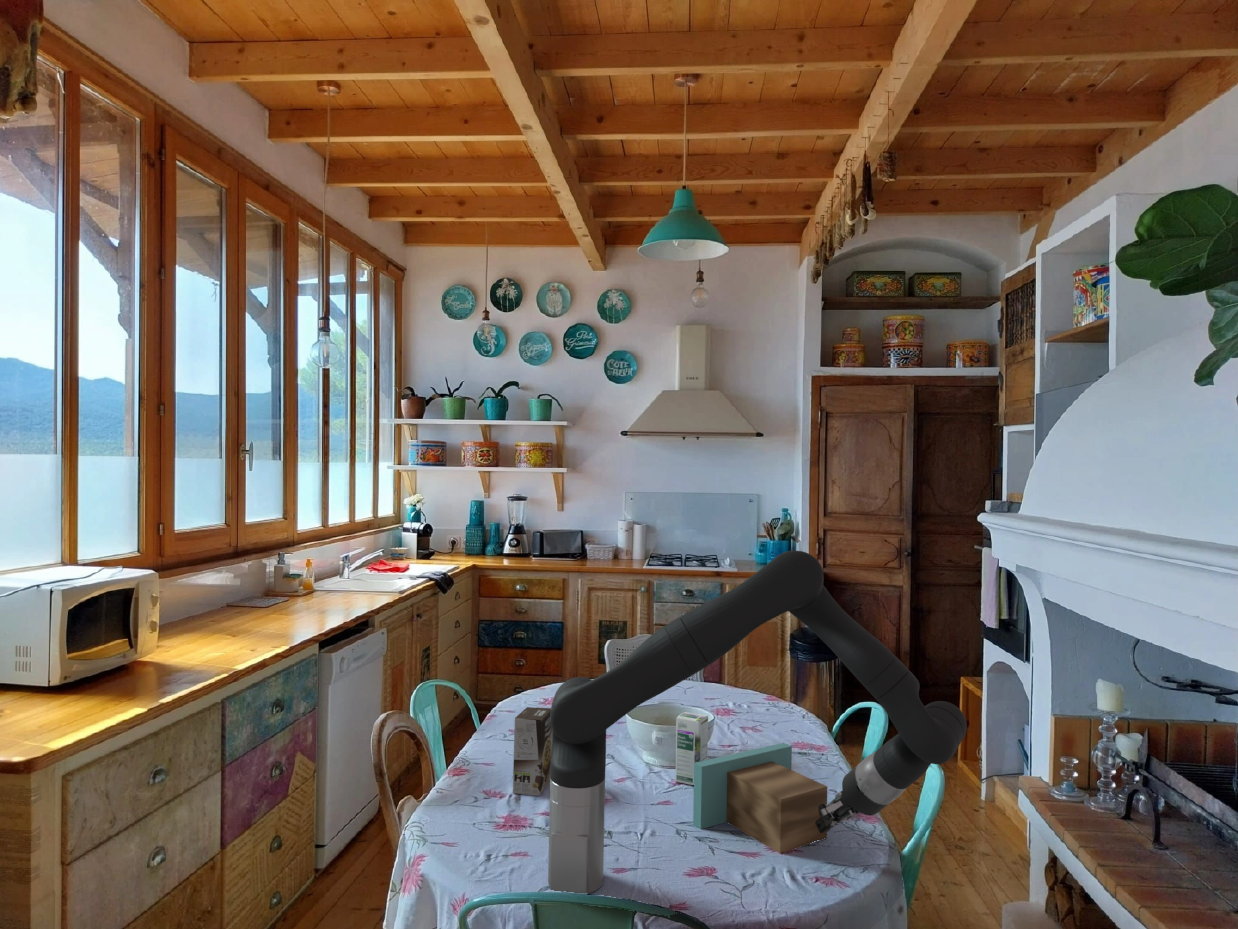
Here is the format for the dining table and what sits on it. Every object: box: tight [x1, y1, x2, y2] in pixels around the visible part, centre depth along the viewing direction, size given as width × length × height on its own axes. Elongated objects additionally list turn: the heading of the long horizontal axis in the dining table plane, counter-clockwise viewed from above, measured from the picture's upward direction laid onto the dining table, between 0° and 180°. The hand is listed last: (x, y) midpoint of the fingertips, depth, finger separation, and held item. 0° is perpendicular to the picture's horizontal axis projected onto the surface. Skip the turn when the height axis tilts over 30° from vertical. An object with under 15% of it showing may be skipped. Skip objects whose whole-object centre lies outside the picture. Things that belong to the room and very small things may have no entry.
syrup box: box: [674, 711, 709, 786], centre depth 175 cm, size 6×6×14 cm
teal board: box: [692, 742, 793, 830], centre depth 158 cm, size 2×24×12 cm, turn 122°
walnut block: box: [725, 761, 828, 854], centre depth 151 cm, size 15×12×10 cm
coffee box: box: [512, 706, 553, 797], centre depth 169 cm, size 9×6×16 cm
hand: (820, 827), depth 141 cm, fingers closed
